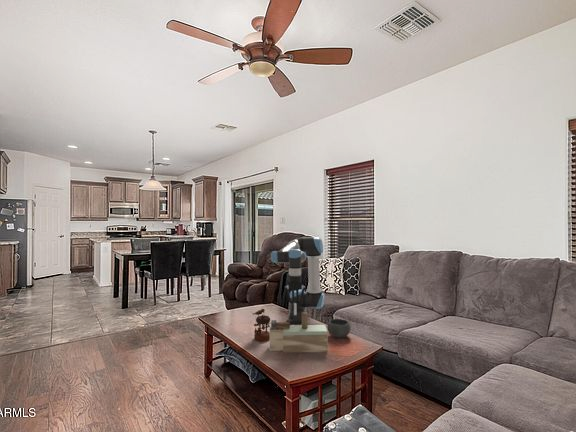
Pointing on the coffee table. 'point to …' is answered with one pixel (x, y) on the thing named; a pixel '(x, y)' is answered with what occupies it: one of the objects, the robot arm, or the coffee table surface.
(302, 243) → the robot arm
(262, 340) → the music box
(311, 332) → the lid
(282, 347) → the toolbox
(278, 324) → the tan wooden beam
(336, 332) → the bowl
